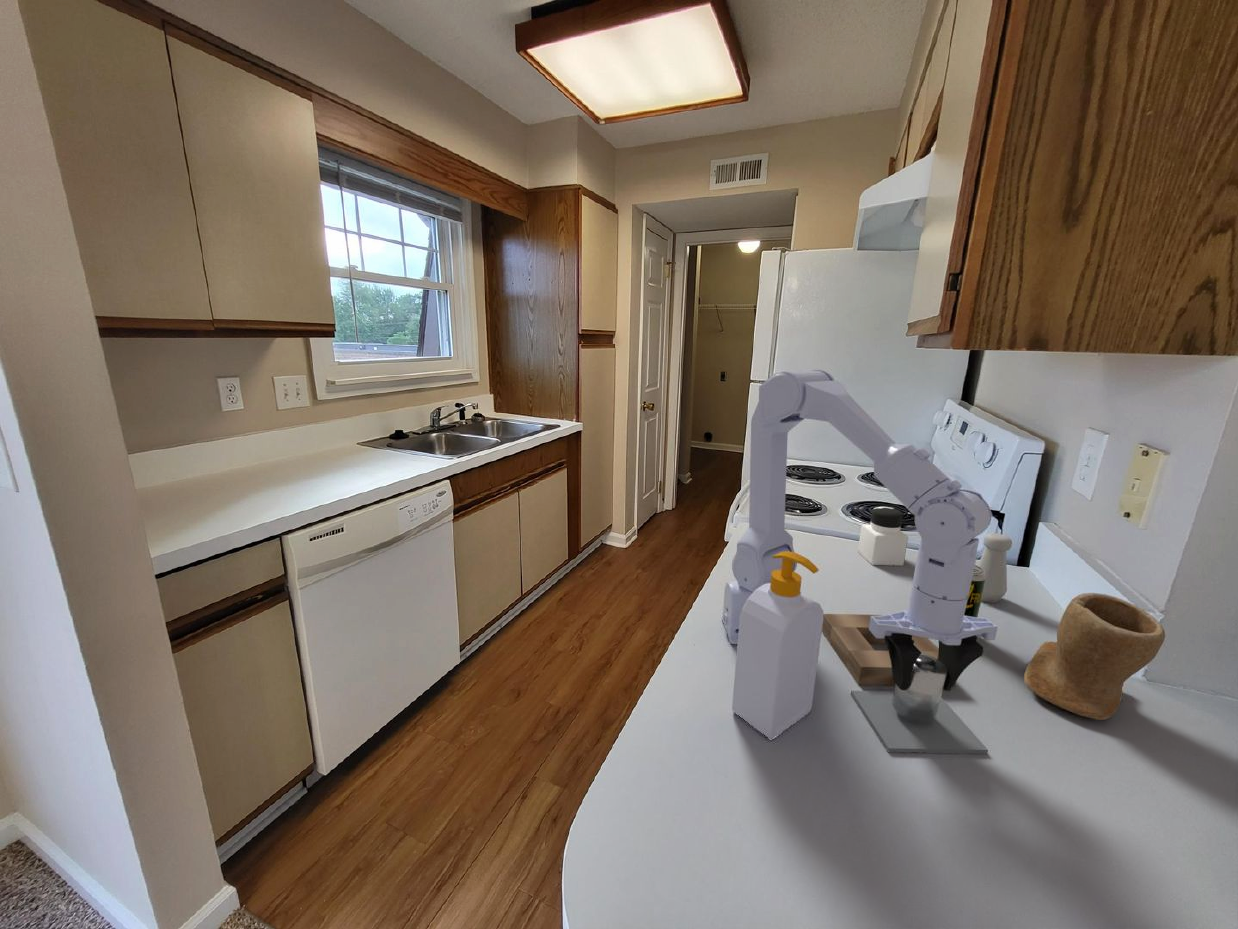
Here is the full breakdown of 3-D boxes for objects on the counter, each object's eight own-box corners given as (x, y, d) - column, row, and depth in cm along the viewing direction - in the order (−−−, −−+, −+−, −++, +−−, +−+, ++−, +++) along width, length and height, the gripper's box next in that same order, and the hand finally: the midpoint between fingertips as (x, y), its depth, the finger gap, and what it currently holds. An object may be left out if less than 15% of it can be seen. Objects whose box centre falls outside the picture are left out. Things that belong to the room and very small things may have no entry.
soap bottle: (775, 747, 60) (794, 575, 54) (730, 713, 65) (744, 553, 60) (816, 715, 65) (838, 555, 60) (772, 686, 71) (788, 537, 65)
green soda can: (928, 625, 86) (940, 562, 83) (951, 621, 88) (964, 559, 85) (956, 643, 81) (970, 577, 78) (980, 638, 83) (995, 573, 80)
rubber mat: (887, 752, 59) (888, 748, 59) (850, 694, 69) (851, 690, 69) (987, 754, 59) (988, 750, 59) (935, 695, 69) (936, 692, 69)
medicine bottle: (904, 566, 109) (912, 515, 106) (871, 565, 109) (879, 514, 106) (887, 552, 116) (895, 504, 113) (857, 552, 116) (864, 503, 113)
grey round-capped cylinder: (903, 722, 62) (914, 673, 60) (885, 693, 67) (894, 646, 65) (944, 725, 62) (956, 675, 60) (923, 696, 67) (934, 649, 65)
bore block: (858, 685, 71) (861, 667, 70) (820, 629, 85) (822, 613, 84) (955, 686, 71) (959, 668, 70) (901, 630, 85) (904, 615, 84)
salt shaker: (992, 591, 99) (1005, 530, 96) (1011, 606, 93) (1026, 542, 90) (961, 589, 99) (973, 529, 96) (978, 604, 94) (992, 540, 90)
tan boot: (1129, 746, 61) (1164, 640, 57) (1011, 693, 70) (1035, 598, 66) (1146, 694, 70) (1177, 599, 66) (1040, 653, 79) (1062, 567, 75)
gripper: (897, 605, 56) (880, 706, 59) (1026, 607, 56) (1000, 709, 59) (867, 576, 63) (853, 668, 66) (981, 578, 62) (961, 670, 66)
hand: (920, 685), depth 63 cm, fingers closed on grey round-capped cylinder, 5 cm apart
